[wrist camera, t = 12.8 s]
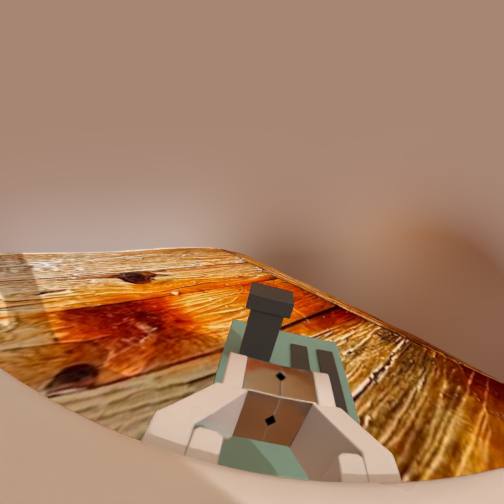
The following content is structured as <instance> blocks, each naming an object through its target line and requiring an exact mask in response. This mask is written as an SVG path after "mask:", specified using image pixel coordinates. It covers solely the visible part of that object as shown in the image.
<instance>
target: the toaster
mask: <svg viewBox="0 0 504 504" xmlns="http://www.w3.org/2000/svg"><path fill="white" fill-rule="evenodd" d="M246 325H247V323H246V322H242V321H238V320H234V319H233V321H232V325H231V328H230V331H229V334H228V337H227V341H226V344H225V347H224V350H223V354H222V357H221V360H220V363H219V366H218V370H217V373H216V376H215V379H214V382H213V384H214V383H216V382H218V383H222V380H223V376H224V372H225V369H226V365H227V362H228V358H229V354H230V352H233V353H237V354H239V351H240V347H241V343H242V340H243V336H244V332H245V328H246ZM269 362H271V363H275V364H279V365H281V366H286V367H291V368H296V369H301V370H307V371H313V372H320V373H326V374H328V375H329V379H330V383H331V387H332V391H333V396H334V400H335V404H336V407H338V408H341V409H342V410H343V411H345V412H346V413H347V414H348V415H349V416H350V417H351V418H352V419H353V420H354V421H356V422H357V423H358V424H359V425H360V423H359V420H358V416H357V412H356V409H355V405H354V402H353V398H352V395H351V391H350V388H349V384H348V381H347V377H346V374H345V371H344V367H343V364H342V361H341V357H340V354H339V351H338V348H337V344H336V343H334V342H330V341H325V340H320V339H315V338H310V337H306V336H301V335H297V334H292V333H288V332H284V331H279V334H278V337H277V340H276V343H275V346H274V349H273V352H272V355H271V358H270V361H269ZM218 465H222V466H226V467H231V468H235V469H240V470H245V471H250V472H256V473H261V474H267V475H274V476H280V477H288V478H296V479H305V480H310V479H309V477H308V476H307V474H306V473H305V471H304V470H303V468H302V467H301V465H300V464H299V462H298V461H297V459H296V458H295V456H294V455H293V453H292V451H291V450H290V447H287V446H282V445H277V444H272V443H267V442H263V441H258V440H252V439H247V438H242V437H237V436H232V437H231V438H230V439H229V440H228V441H226V442H225V443H224V444H223V445H222V446H221V450H220V455H219V460H218Z"/></svg>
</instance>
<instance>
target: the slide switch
mask: <svg viewBox="0 0 504 504" xmlns="http://www.w3.org/2000/svg"><path fill="white" fill-rule="evenodd" d="M293 306H294V299H293V292H291V291H287V290H283V289H279V288H275V287H271V286H267V285H263V284H259V283H255V282H252V285H251V289H250V293H249V297H248V301H247V305H246V308H248V309H251V310H250V313H249V317H248V321H247V325H246V328H245V332H244V336H243V340H242V343H241V347H240V351H239V354H241V355H245V356H247V357H252V358H256V359H259V360H263V361H267V362H269V361H270V358H271V355H272V352H273V349H274V346H275V343H276V340H277V337H278V334H279V331H280V328H281V325H282V321H283V318H284V317H285V318H290V316H291V313H292V310H293Z"/></svg>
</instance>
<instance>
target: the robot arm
mask: <svg viewBox="0 0 504 504" xmlns="http://www.w3.org/2000/svg"><path fill="white" fill-rule="evenodd" d="M232 436H237V437H242V438H247V439H252V440H258V441H263V442H267V443H272V444H277V445H282V446H287V447H290V450H291V451H292V453H293V455H294V456H295V458H296V459H297V461H298V462H299V464H300V465H301V467H302V468H303V470H304V471H305V473H306V474H307V476H308V477H309V479H310V480H305V479H296V478H288V477H280V476H274V475H267V474H261V473H256V472H250V471H245V470H240V469H235V468H231V467H226V466H222V465H218V460H219V455H220V450H221V446H222V445H223V444H224V443H225V442H226V441H228V440H229V439H230V438H231V437H232ZM0 504H504V467H503V468H499V469H494V470H490V471H485V472H480V473H475V474H470V475H464V476H458V477H451V478H444V479H436V480H426V481H414V482H402V481H401V478H400V474H399V471H398V468H397V465H396V462H395V459H394V456H393V454H392V453H391V452H390V451H388V450H387V449H386V448H385V447H384V446H383V445H381V444H380V443H379V442H378V441H377V440H376V439H375V438H374V437H372V436H371V435H370V434H369V433H368V432H367V431H366V430H364V429H363V428H362V427H361V426H360V425H359V424H358V423H357V422H356V421H354V420H353V419H352V418H351V417H350V416H349V415H348V414H347V413H346V412H345V411H343V410H342V409H341V408H338V407H336V404H335V400H334V396H333V391H332V387H331V383H330V379H329V375H328V374H326V373H320V372H313V371H307V370H301V369H296V368H291V367H286V366H281V365H279V364H275V363H271V362H267V361H263V360H259V359H256V358H252V357H247V356H245V355H241V354H237V353H233V352H230V354H229V358H228V362H227V365H226V369H225V372H224V376H223V380H222V383H218V382H216V383H214V384H212V385H210V386H208V387H206V388H204V389H202V390H200V391H198V392H196V393H194V394H192V395H190V396H188V397H185V398H183V399H181V400H179V401H177V402H175V403H173V404H170V405H168V406H166V407H164V408H162V409H159V410H157V411H155V413H154V415H153V417H152V419H151V421H150V423H149V425H148V427H147V429H146V431H145V433H144V435H143V437H142V439H141V441H140V440H137V439H134V438H132V437H129V436H127V435H124V434H122V433H119V432H117V431H114V430H112V429H110V428H107V427H105V426H103V425H101V424H98V423H96V422H94V421H92V420H90V419H88V418H86V417H84V416H81V415H79V414H77V413H75V412H73V411H71V410H70V409H68V408H66V407H64V406H62V405H60V404H58V403H56V402H54V401H53V400H51V399H49V398H47V397H46V396H44V395H42V394H40V393H39V392H37V391H35V390H34V389H32V388H30V387H29V386H27V385H25V384H24V383H22V382H21V381H19V380H18V379H16V378H15V377H13V376H11V375H10V374H8V373H7V372H6V371H4V370H3V369H1V368H0Z"/></svg>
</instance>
